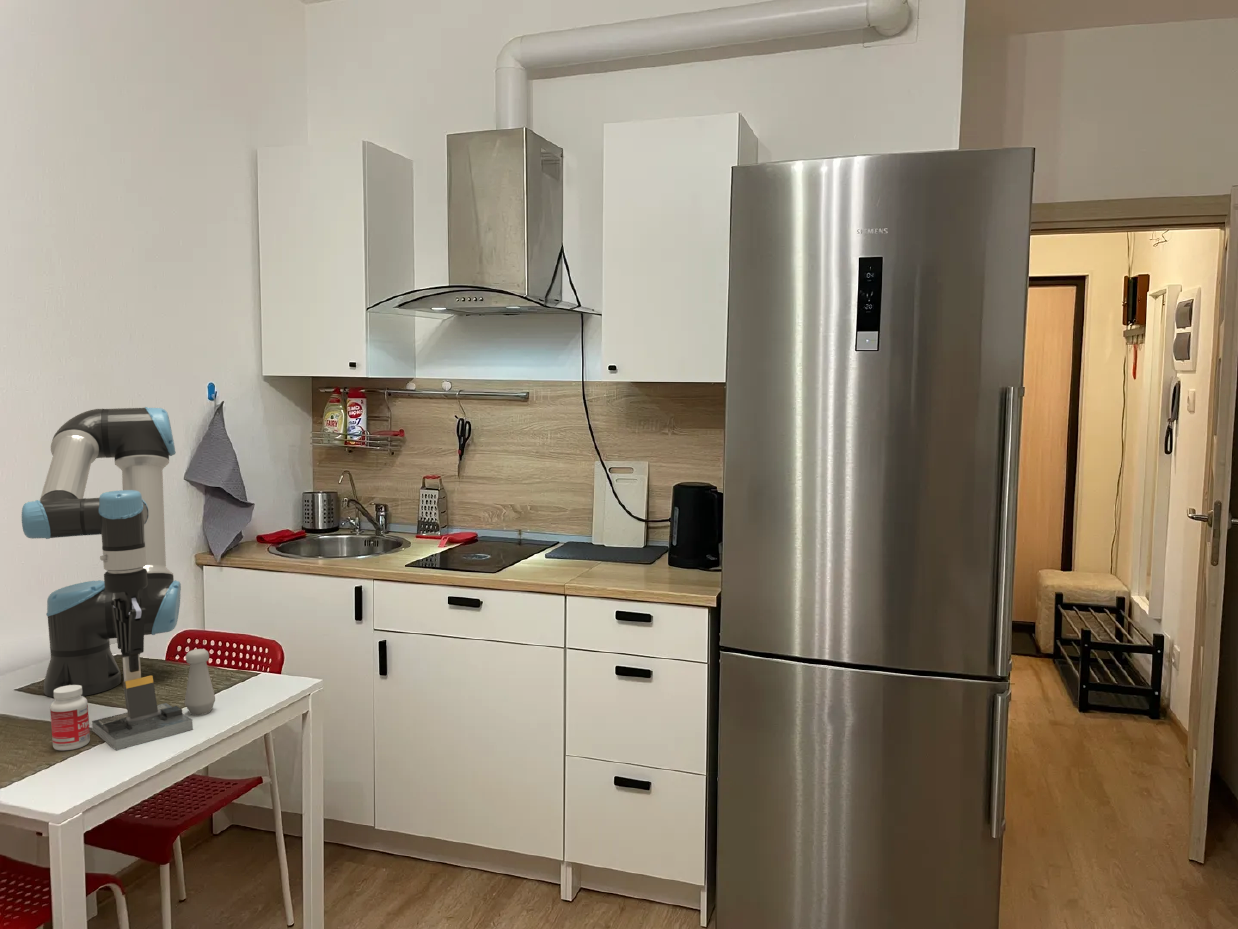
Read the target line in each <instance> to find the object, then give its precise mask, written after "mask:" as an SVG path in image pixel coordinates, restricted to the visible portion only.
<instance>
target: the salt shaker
mask: <svg viewBox="0 0 1238 929" xmlns="http://www.w3.org/2000/svg"><path fill="white" fill-rule="evenodd" d="M209 659H210V654H209V651H208V650H206V648H205V649H204V648H196V649H191V650H190V651H188V652H187V653H186V654H185V661H186V663H187V664H189V669H188V677H187V683H186V688H185V689H186V690H185V698H184V706H185V707H186V709H187V710H188V712H189V714H190V716H191V715H192V716H201V715H206V714H209V713H210V712H211V711H212V710H213V707H214V704H215V701H216V695H215V691H214V687H213V684H212V680H211V676H210V672H209V668H208V664H207V662H208V660H209Z"/></svg>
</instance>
